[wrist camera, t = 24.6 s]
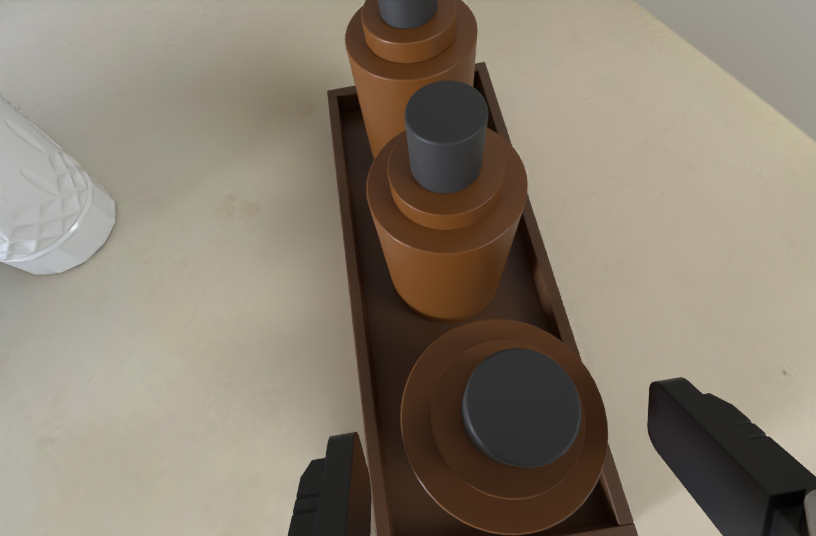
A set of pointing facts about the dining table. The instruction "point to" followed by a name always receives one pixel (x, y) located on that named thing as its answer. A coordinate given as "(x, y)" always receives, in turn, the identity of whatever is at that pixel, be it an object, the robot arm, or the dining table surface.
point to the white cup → (46, 201)
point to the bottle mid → (446, 203)
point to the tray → (411, 335)
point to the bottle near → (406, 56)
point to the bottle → (504, 426)
